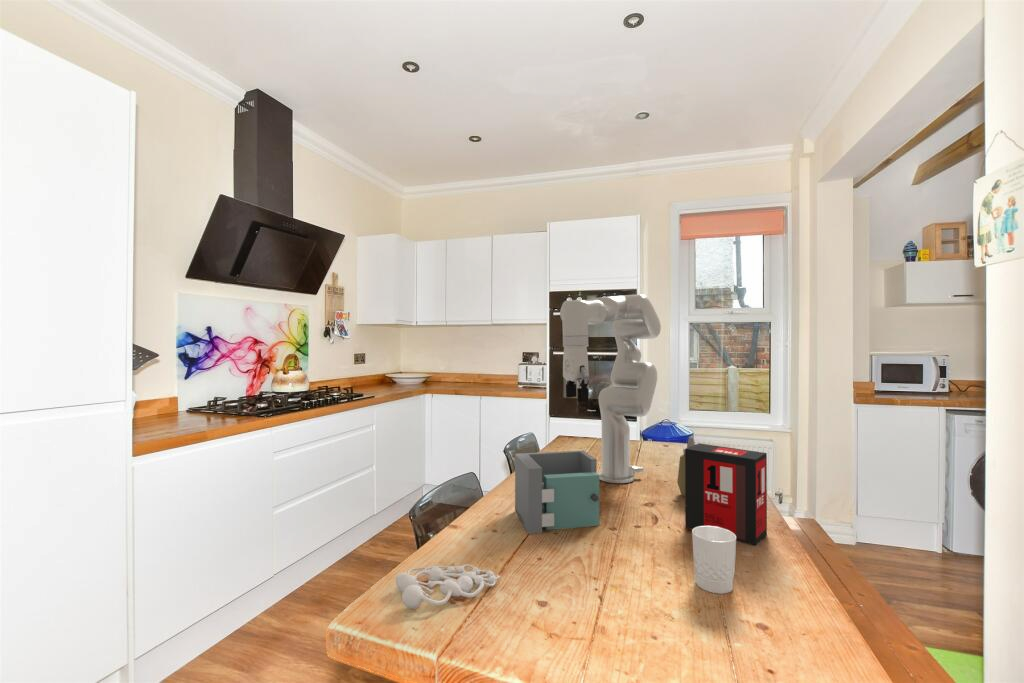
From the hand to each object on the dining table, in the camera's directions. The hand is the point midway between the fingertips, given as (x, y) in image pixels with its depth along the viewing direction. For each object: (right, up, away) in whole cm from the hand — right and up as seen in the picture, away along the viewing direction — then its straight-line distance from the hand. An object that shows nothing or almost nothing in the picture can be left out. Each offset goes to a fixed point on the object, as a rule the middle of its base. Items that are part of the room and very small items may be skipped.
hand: (576, 399), depth 141 cm
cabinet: (-7, -30, -15) cm, 34 cm away
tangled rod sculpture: (-32, -31, -50) cm, 67 cm away
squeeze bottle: (+36, -30, +4) cm, 47 cm away
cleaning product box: (+34, -30, -23) cm, 51 cm away
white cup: (+20, -30, -49) cm, 61 cm away
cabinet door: (-4, -30, -19) cm, 36 cm away
